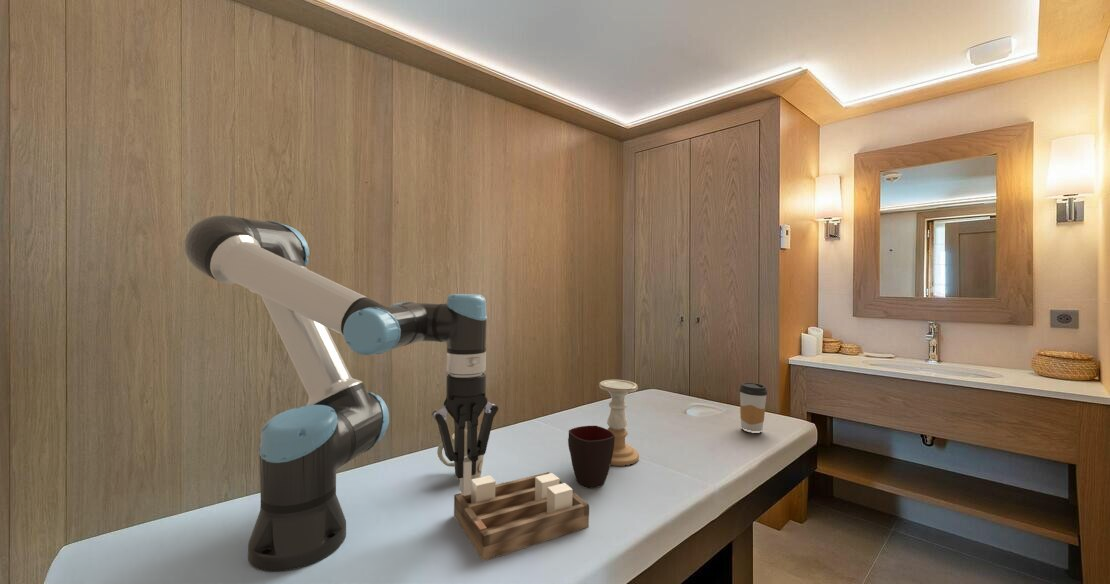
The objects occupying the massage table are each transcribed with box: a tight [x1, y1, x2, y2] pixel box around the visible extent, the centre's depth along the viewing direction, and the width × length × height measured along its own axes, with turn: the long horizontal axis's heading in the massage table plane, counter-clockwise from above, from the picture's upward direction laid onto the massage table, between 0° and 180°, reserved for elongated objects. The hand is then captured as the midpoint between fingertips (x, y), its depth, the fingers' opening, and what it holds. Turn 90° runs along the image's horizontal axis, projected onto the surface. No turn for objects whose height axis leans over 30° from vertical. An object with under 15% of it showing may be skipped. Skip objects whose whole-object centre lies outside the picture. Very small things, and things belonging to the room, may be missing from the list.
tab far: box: [471, 474, 497, 504], centre depth 89 cm, size 4×3×5 cm
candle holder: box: [598, 379, 640, 467], centre depth 120 cm, size 12×12×20 cm
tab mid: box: [535, 472, 560, 501], centre depth 91 cm, size 4×3×5 cm
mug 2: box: [567, 425, 615, 489], centre depth 106 cm, size 10×14×12 cm
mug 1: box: [437, 429, 485, 481], centre depth 107 cm, size 8×13×10 cm, turn 78°
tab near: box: [547, 482, 574, 513], centre depth 86 cm, size 4×3×5 cm
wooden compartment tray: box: [453, 471, 590, 562], centre depth 88 cm, size 22×16×5 cm
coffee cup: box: [739, 382, 768, 431], centre depth 144 cm, size 8×8×15 cm
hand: (465, 492), depth 86 cm, fingers closed
